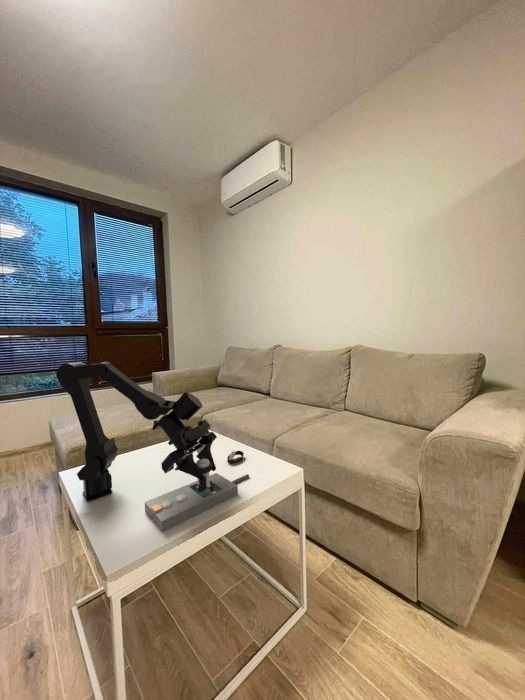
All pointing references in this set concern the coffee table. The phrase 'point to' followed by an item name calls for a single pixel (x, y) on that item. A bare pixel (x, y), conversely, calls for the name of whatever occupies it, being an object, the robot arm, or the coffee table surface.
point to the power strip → (189, 501)
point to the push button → (204, 485)
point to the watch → (233, 457)
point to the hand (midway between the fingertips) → (209, 474)
